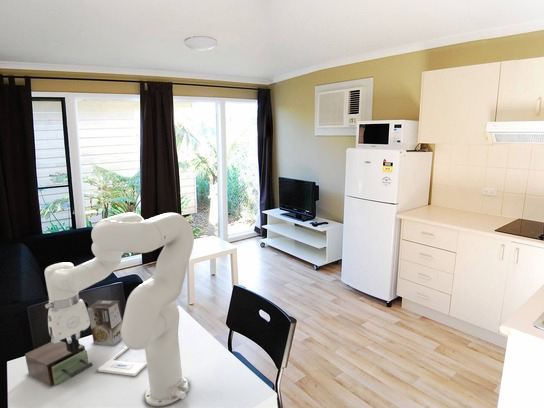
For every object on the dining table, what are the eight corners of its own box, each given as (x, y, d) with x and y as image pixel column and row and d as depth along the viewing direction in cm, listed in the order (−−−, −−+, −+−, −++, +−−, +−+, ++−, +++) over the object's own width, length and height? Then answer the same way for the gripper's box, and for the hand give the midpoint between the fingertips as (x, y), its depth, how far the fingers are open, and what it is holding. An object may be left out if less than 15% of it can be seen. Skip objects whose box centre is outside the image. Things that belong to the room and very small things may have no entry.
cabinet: (87, 365, 126) (84, 345, 124) (50, 386, 116) (46, 365, 114) (66, 355, 132) (62, 336, 130) (28, 374, 121) (24, 354, 120)
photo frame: (97, 368, 123) (134, 339, 140) (97, 371, 123) (134, 341, 140) (134, 373, 120) (167, 342, 138) (134, 376, 121) (167, 345, 138)
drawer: (100, 371, 122) (97, 355, 121) (67, 390, 113) (64, 373, 111) (69, 356, 130) (66, 341, 128) (35, 374, 120) (32, 357, 119)
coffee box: (125, 336, 144) (120, 300, 141) (114, 345, 138) (108, 308, 135) (104, 335, 145) (99, 299, 142) (92, 344, 139) (86, 307, 135)
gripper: (44, 314, 105) (54, 367, 108) (96, 293, 118) (103, 342, 122) (30, 308, 108) (41, 361, 112) (82, 289, 121) (90, 336, 125)
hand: (73, 351), depth 117 cm, fingers closed
